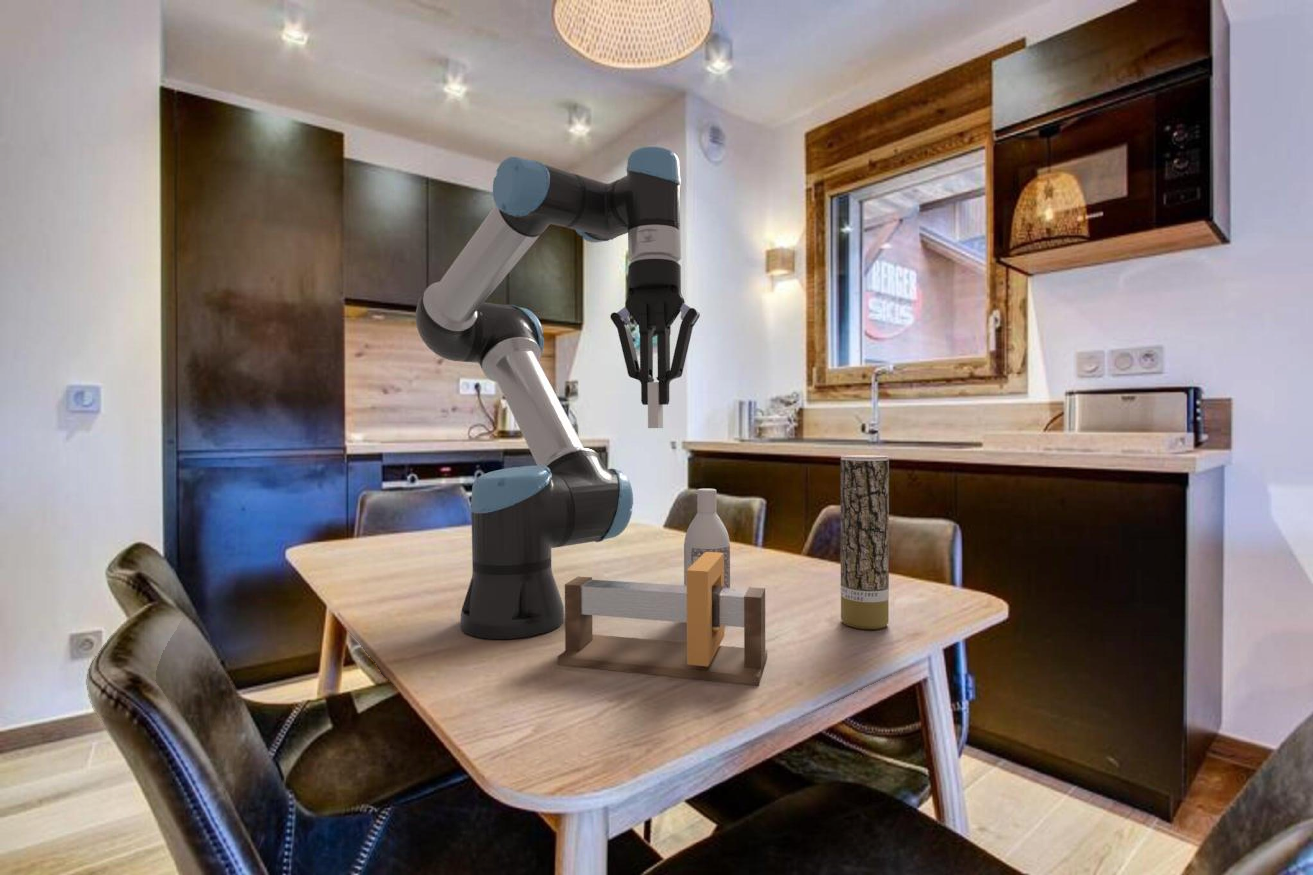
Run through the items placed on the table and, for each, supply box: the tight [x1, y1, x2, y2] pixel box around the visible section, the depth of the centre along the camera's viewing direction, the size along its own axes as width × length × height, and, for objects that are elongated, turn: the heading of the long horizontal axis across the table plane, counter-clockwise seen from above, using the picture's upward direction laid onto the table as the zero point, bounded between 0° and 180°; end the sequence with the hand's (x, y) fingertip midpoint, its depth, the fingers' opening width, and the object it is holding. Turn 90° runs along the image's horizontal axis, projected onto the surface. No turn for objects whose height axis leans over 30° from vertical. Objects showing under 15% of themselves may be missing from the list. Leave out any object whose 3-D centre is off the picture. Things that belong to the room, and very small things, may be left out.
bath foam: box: [683, 488, 731, 588], centre depth 98 cm, size 7×7×20 cm
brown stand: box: [557, 576, 768, 686], centre depth 81 cm, size 25×9×10 cm, turn 74°
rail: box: [580, 579, 748, 628], centre depth 81 cm, size 22×4×4 cm, turn 74°
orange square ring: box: [686, 552, 725, 666], centre depth 79 cm, size 2×11×11 cm, turn 164°
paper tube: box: [840, 454, 890, 631], centre depth 95 cm, size 7×7×25 cm
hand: (655, 427), depth 92 cm, fingers closed
